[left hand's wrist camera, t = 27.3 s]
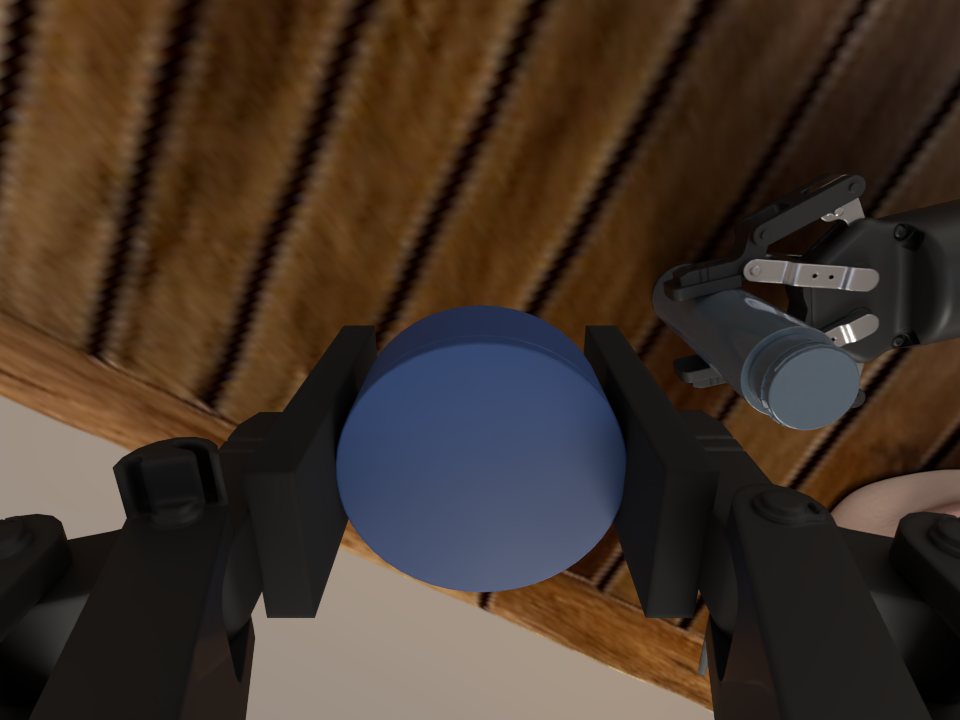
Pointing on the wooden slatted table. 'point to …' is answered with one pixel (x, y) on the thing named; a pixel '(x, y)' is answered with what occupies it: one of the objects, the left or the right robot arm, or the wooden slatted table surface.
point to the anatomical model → (899, 501)
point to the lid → (481, 452)
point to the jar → (765, 354)
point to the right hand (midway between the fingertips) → (674, 333)
